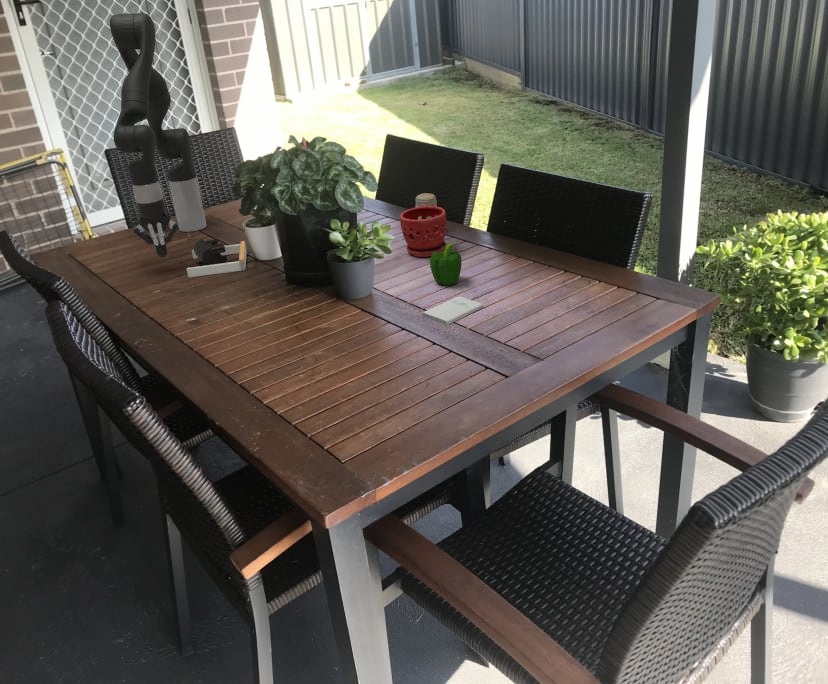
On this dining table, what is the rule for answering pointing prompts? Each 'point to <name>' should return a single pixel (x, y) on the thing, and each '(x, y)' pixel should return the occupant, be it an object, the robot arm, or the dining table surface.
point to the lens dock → (224, 266)
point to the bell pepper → (446, 266)
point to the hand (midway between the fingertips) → (163, 256)
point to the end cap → (210, 252)
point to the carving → (425, 202)
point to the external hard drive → (452, 310)
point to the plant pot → (424, 230)
